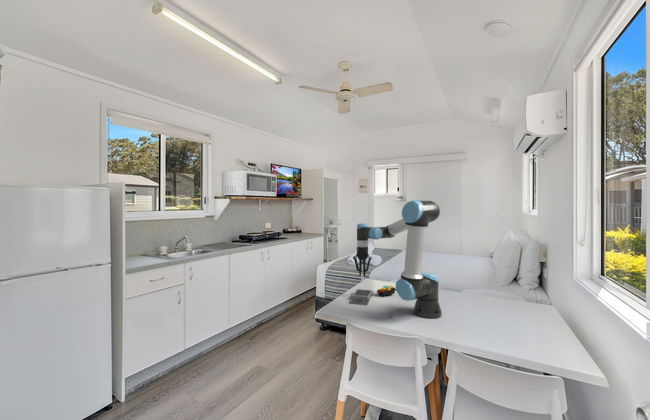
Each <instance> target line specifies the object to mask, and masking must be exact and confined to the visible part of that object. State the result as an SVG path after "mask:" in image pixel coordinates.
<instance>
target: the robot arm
mask: <svg viewBox="0 0 650 420" xmlns="http://www.w3.org/2000/svg"><path fill="white" fill-rule="evenodd" d="M440 214H441V209H440V207H439V205H438V204H437V203H436V202H435V201H432V200H419V199H417V200H410V201H407V202H406V203H405V204H404V205H403V207H402V209H401V217H402V218H401V219H399V220H395V222H393V223H390V224H389V225H388V224H387V225H386V226H373V227H372V226H369V224H368V223H365V222H364V223H357V224H356V254H355V255H354V256H352V258H353V259H352V260H354V264H355V269H356V271H357V272H359V273H358V275H359V277H360V282H361V283H364V281H365V277H366V272H369V269H370V268H369V267H370V265H371V261H372V259H373V257H372V256H370V255H369V247H368V246H369V240H375V241H376V240H378V241H379V240H380V239H392V238H395V237H396V236H397V235H398V234H401V233H403V232H405V231H407V233H406V234H407V236H406V246H405V247H406V248H405V258H404V269H403V271H402V272H401V273H400V278H398V280H397V281H396V282H395V289H396V293H397V294H398V296H399V298H401V299H402V300H403V301H408V302H409V301H414V300H416V301H415V302H414V306H413V313H414V314H415V315H417V316H419V317H420V318H423V319H424V318H426V319H438V318H441V317H442V315H443V311H442V308H441V305H440V303H439V276H438V275H437V274H434V273H431V272H430V273H429V272H424V271H423V272H422V262H423V249H424V242H425V241H424V240H425V231H426V229H427V228H428V227H429V223H432V222H435V221H436V220H438V219H439V217H440ZM366 260H367V264H366ZM358 261H359V262H358Z"/></svg>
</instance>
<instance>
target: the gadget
mask: <svg viewBox="0 0 650 420" xmlns="http://www.w3.org/2000/svg"><path fill="white" fill-rule="evenodd" d="M395 291H396V287H394V286H393V285H383V286H382V287H381V288H379V289H377V290H376V293H377V294H378V296H380V297H385V296H392V295H393V294H395V293H396V292H397V291H396V292H395Z"/></svg>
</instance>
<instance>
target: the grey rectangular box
mask: <svg viewBox="0 0 650 420" xmlns="http://www.w3.org/2000/svg"><path fill="white" fill-rule="evenodd" d="M373 294H374V291H373V290H372V289H361V288H356V290H355V291H354V293H352V295H351V300H350V301H349V304H350V305H360V306H368V304H369V303H370V301H371V299H372V297H373Z"/></svg>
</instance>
